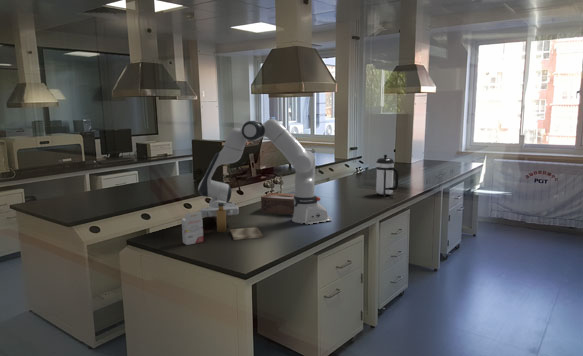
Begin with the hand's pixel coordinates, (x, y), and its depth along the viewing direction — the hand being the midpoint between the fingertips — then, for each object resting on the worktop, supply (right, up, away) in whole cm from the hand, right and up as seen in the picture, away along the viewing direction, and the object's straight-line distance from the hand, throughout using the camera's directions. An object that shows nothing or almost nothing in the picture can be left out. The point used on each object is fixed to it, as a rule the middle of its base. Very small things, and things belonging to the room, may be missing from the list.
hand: (220, 214), depth 208 cm
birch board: (+14, -9, -8) cm, 18 cm away
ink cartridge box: (-10, -11, -19) cm, 24 cm away
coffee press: (+106, +6, +88) cm, 138 cm away
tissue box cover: (+33, -2, +40) cm, 51 cm away
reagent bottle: (+1, -8, -1) cm, 8 cm away
